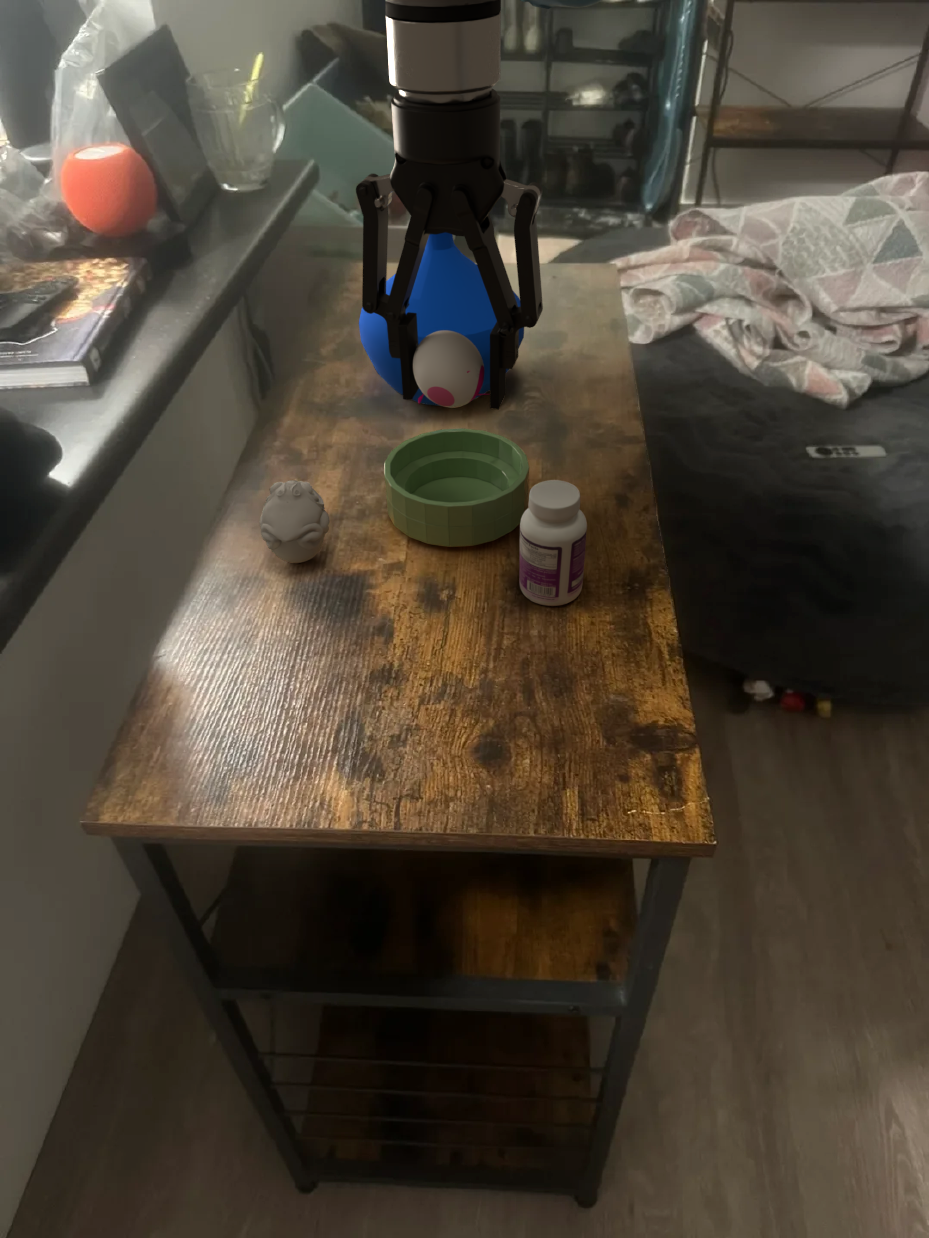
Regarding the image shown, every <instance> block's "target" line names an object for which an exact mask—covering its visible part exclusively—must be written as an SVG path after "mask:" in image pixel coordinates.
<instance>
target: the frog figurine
mask: <svg viewBox="0 0 929 1238" xmlns="http://www.w3.org/2000/svg"><path fill="white" fill-rule="evenodd" d="M325 509H326V507H325V502H324V499H323V497H322V496H321V495H320V494H319V492H318V491H317V490H315V489H314V488H313V486H312V485H311V483H310V482H308V481H302V480H297V479H296V480H293V479H292V480H287V481H285V482H283V481H277V482H273V484H272V485H271V486H270V487H269V495H268V496H266V498H265V503H263V509H262V511H261V515H260V518H259V530H260V536H261V539H262V540H263V541H264V542H265V544H266V546H267V548H268V549H269V550H271V552H272V553H273V554H274V555H275V557H277V558H278V559H280V560H282V561H284V562H287V563H291V564H299V563H300V564H301V563H304V562H307V561H309V560H311V559H313V558H314V557H315V556H316V555H317V554H318V553H319V552H320V550H321V549H322V546H323V545H324V541H325V536H326V534H327V533H328V532H329V529H330V527H329V525H330V522H331V521H330V515H329V513H328V512H327V511H326V510H325Z"/></svg>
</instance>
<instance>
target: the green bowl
mask: <svg viewBox="0 0 929 1238" xmlns="http://www.w3.org/2000/svg"><path fill="white" fill-rule="evenodd" d="M529 464H530V463H529V459H528V456H527V454H526V453H525V452H524V450H523V449H522V448H521V447H520V446H519V445H518V444H517V443H516V442H514V441H513V440H510V439H509V438H507V437H505V436H504V435H500V434H497V433H494V432H490V431H488V430H482V429H473V428H463V427H462V428H461V427H459V428H442V429H437V430H436V429H435V430H432V431H428V432H423V433H419V434H418V435H416V436H413V437H411V438H408V439H406V440H404V441H402V442H401V443H400V444H398V445H397V446H396V447H395V448H393V449H392V450H391V451H390V452H389V454H388V456H387V458H386V459H385V460H384V463H383V478H384V488H385V498H386V510H387V515H388V517H389V519H390V521H391V523H392V524H393V525H394V527H395V528H397V530H399V531H400V532H401V533H403V534H404V535H406V536H407V537H408V538H411V539H413V540H416V541H419V542H422V543H423V544H424V543H425V544H428V545H432V546H438V547H439V546H441V547H447V548H455V547H473V546H478V545H481V544H485V543H490V542H494V541H496V540H498V539H500V538H502V537H504V536H505V535H507V534H509V533H511V532H513V531H514V530H515V529H516V528H517V527H518V526H520V522H521V518H522V515H523V513H524V512H525V511H526V510H527V509H528V508H529V507H528V503H529V492H530V489H529V488H530V487H529V486H530V465H529Z"/></svg>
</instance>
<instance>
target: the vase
mask: <svg viewBox="0 0 929 1238" xmlns="http://www.w3.org/2000/svg"><path fill="white" fill-rule="evenodd" d="M453 236H454V235H452V234H450V233H447V232H445V233H440V234H430V235H429V237H428V240H427V244H426V247H425V250H424V254H423V257H422V260H421V263H420V267H419V270H418V273H417V277H416V280H415V283H414V286H413V290H412V293H411V296H410V299H409V306H408V307H407V309H406V314H407V313H408V312H411V313H417V331H418V345H419V344H420V342H421V341H422V340H423V339H424V338H425V337H426V336H428V335H429V334H431V333H434V332H436V331H442V330H448V331H454V332H457V333H459V334H461V335H463V336H465V337H466V338H468V339H469V340H470V341H471V342H472V343H473V344H474V345H475V347H476V348H477V349H478V351H479V353H480V355H481V358H482V360H483V364H484V381H483V385H482V387H481V390H480V391H479V393H478V394H487V393H488V392H490V333H491V331H492V329H493V328H494V326H495V324H496V322H497V320H496V317H495V314H494V311H493V308H492V306H491V303H490V300H489V297H488V294H487V292H486V289H485V286H484V283H483V280H482V277H481V275H480V272H479V269H478V266H477V263H476V262H474V260H473V261H472V259H470V258H469V257H468V256H466V255H464V253H462V252H461V250H460V249H459V248H458V247H457V245H456V244H455V242H454V237H453ZM395 274H396V273H394V274H393V275H392V276H391V277H389V278H388V279H386V294H387V295H390V292H391V288H392V285H393V281H394V278H395ZM513 293H514V296H515V299H516V302H517V305H518V307H520V296H518V294H516V293H515V291H514V290H513ZM358 327H359V335H360V343H361V344H362V346H363V349H364V351H365V353H366V355H367V356H368V358H369V360H370V362H371V364H372V365H373V367H374V370H375V371H376V373H377V375H378V376H379V377H380V378H382V379H383V380H384V382H386V383H387V385H388V386H389V387H391V388H392V389H393V390H394V391H396V393H398V394H399V395H401V396H403V390H402V376H401V362H400V358H392V357H391V355H390V353H389V344H388V331H387V323H386V320H385V319H384V318H383V317H382V316H380V315H378V314H376V313H372V314H369V313H366V312H365V311H364V309H363V307H361V310H360V314H359V320H358ZM524 337H525V327H523V328H520V329H519V348H518V350H519V349H520V347H521V344H522V342H523V340H524ZM509 371H510V369H506V374H507V373H508V372H509ZM422 394H423V393H422V391H421V390H420V388H419V389H418V390H417V392H416V394H415V395H414V397H413V399H412V400H411V401H414V402H416V403H418V398H419V397H420V396H421V395H422ZM480 397H482V395H478V396H476V397H475V398H474V399H473V400H472V401H474V400H476V399H478V398H480ZM420 404H423V405H426V406H436V407H442V406H441V405H438V404H436V403H434V402H432V401H431V400H430V399H428V398H427V397H426V396H425V395H423V398H422V400H421V402H420Z"/></svg>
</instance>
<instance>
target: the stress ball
mask: <svg viewBox="0 0 929 1238" xmlns="http://www.w3.org/2000/svg"><path fill="white" fill-rule="evenodd" d="M413 373H414V377H415V380H416V383H417V385H418V387H419V388H420V390H421V391H422V393H423V394H422V395H421V396H420V397H419V398H418V402H417V403H418V405H420V404H421V403H420V402H421V400H422V398H423V395H425V396H426V397H427V398H428V399H430V400H431V401H432V402H434V403H436V404H438V405H441V406H440V407H444V408H451V409H452V408H453V409H454V408H460V407H464V406H466V405H468V404H469V403H471V402H473V401H474V400H475V399H474V398H475V397H476V396H478V395H481V396H487V395H489V396H490V393H485V394H478V393H479V391H480V390H481V387H482V385H483V381H484V364H483V360H482V358H481V355H480V353H479V351H478V349H477V348H476V347H475V345H474V344H473V343H472V342H471V341H470V340H469V339H468V338H466V337H465V336H463V335H461V334H459V333H457V332H454V331H448V330H442V331H436V332H434V333H431V334H429V335H428V336H426V337H425V338H424V339H423V340H422V341H421V342H420V344H419V345H418V347H417V348H416V351H415V354H414V357H413ZM473 399H474V400H473Z"/></svg>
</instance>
